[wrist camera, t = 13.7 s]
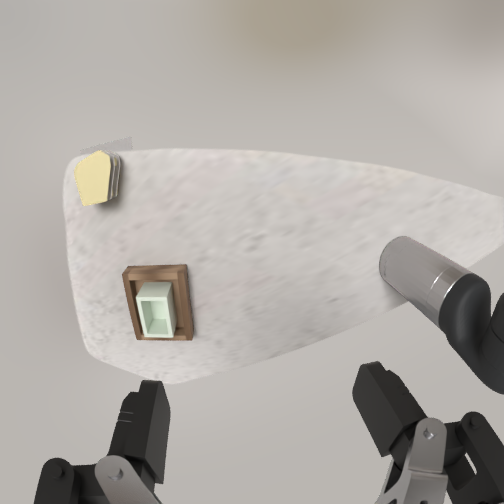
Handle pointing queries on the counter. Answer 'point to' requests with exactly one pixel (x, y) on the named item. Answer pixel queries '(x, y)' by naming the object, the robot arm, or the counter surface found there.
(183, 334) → the big crate
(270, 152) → the counter surface
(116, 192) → the stacked layers on plate
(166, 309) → the box
